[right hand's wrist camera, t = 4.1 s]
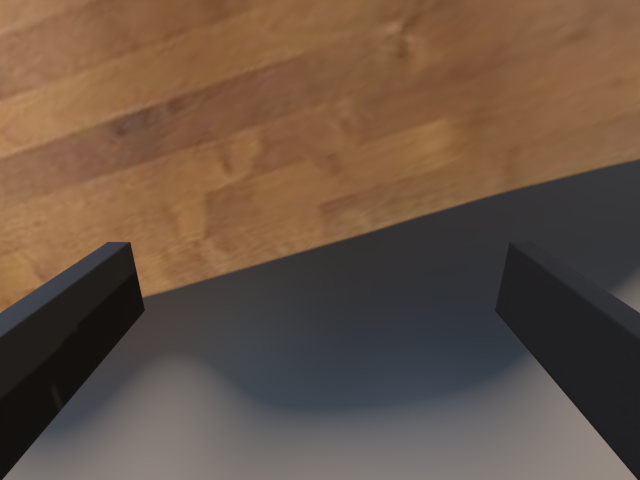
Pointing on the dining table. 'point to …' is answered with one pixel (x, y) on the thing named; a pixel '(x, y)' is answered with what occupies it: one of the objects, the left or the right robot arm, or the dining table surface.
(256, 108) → the dining table surface
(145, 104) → the dining table surface
